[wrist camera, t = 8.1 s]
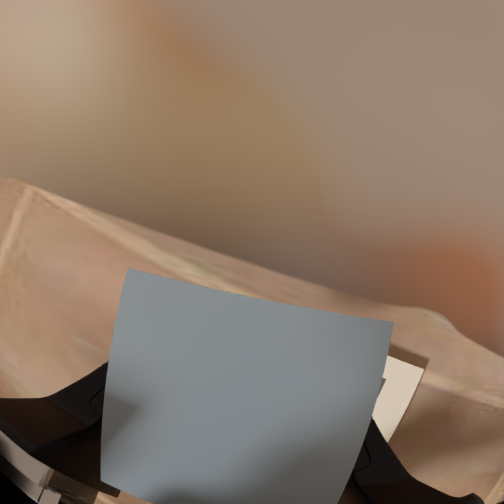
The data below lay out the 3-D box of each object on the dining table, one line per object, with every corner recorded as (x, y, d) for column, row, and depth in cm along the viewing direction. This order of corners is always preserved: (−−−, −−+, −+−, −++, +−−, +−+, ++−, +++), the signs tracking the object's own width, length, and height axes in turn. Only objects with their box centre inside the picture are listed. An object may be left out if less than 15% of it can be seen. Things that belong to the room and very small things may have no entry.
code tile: (362, 471, 19) (365, 476, 18) (253, 441, 20) (252, 446, 19) (418, 368, 21) (424, 369, 20) (313, 325, 23) (315, 325, 22)
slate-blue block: (283, 402, 14) (323, 529, 3) (197, 384, 14) (100, 480, 4) (301, 319, 15) (393, 322, 4) (214, 301, 16) (127, 267, 5)
